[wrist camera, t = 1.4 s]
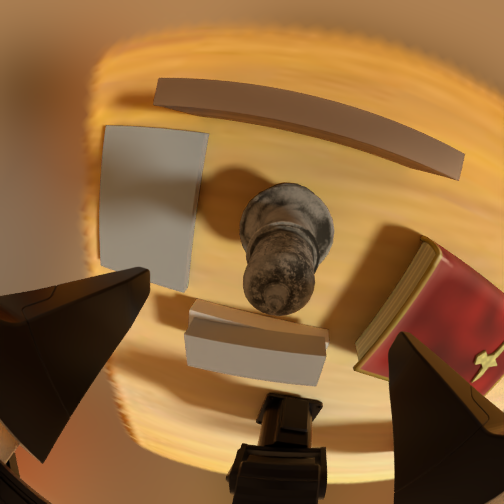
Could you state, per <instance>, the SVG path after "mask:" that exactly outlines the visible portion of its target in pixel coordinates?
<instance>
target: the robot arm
mask: <svg viewBox="0 0 504 504" xmlns="http://www.w3.org/2000/svg"><path fill="white" fill-rule="evenodd" d="M149 293H150V271H149V269H146V268H143V267H134V268H129V269H125V270H121V271H116V272H112V273H107V274H103V275H99V276H94V277H90V278H85V279H81V280H77V281H72V282H68V283H64V284H60V285H57V286H51V287H47V288H42V289H38V290H33V291H27V292H22V293H15V294H9V295H4V296H0V504H51V503H50V502H49V501H48V500H46V499H45V498H44V497H42V496H41V495H40V494H39V493H37V492H36V491H35V490H33V489H32V488H31V487H30V486H29V485H27V484H26V483H25V482H24V481H23V480H22V479H20V475H19V471H18V466H17V461H16V456H15V453H14V451H15V450H16V449H17V447H18V446H19V445H21V446H22V447H23V448H24V449H25V450H26V451H27V452H29V453H30V454H31V455H32V456H33V457H35V458H36V459H37V460H38V461H40V462H41V463H42V464H43V463H44V461H45V460H46V458H47V456H48V454H49V453H50V451H51V449H52V448H53V446H54V444H55V442H56V441H57V439H58V437H59V436H60V434H61V432H62V431H63V429H64V427H65V425H66V424H67V422H68V421H69V419H70V417H71V415H72V414H73V412H74V411H75V409H76V407H77V406H78V404H79V403H80V401H81V399H82V398H83V397H84V395H85V393H86V392H87V390H88V389H89V387H90V386H91V384H92V383H93V381H94V380H95V378H96V377H97V375H98V374H99V372H100V371H101V369H102V368H103V366H104V365H105V363H106V362H107V360H108V359H109V358H110V356H111V355H112V353H113V352H114V350H115V349H116V347H117V346H118V345H119V343H120V342H121V340H122V339H123V338H124V336H125V335H126V333H127V332H128V331H129V329H130V328H131V326H132V324H133V323H134V321H135V319H136V317H137V315H138V314H139V312H140V310H141V308H142V306H143V305H144V303H145V301H146V299H147V298H148V296H149ZM388 367H389V393H390V402H391V412H392V424H393V439H394V471H395V480H394V492H395V493H394V504H504V412H502V411H501V410H500V409H499V408H497V407H496V406H495V405H494V404H492V403H491V402H490V401H489V400H488V399H486V398H485V397H484V396H483V395H482V394H481V393H480V392H478V391H477V390H476V389H475V388H474V387H473V386H472V385H470V384H469V383H468V382H467V381H466V380H465V379H464V378H463V377H462V376H460V375H459V374H458V373H457V372H456V371H455V370H454V369H452V368H451V367H450V366H449V365H448V364H447V363H445V362H444V361H443V360H442V359H441V358H440V357H438V356H437V355H436V354H435V353H434V352H433V351H431V350H430V349H429V348H428V347H427V346H425V345H424V344H423V343H422V342H421V341H420V340H418V339H417V338H416V337H415V336H414V335H412V334H411V333H409V332H403V331H401V332H399V333H398V335H397V336H396V338H395V340H394V342H393V343H392V345H391V347H390V349H389V351H388ZM322 407H323V403H322V402H318V401H311V400H305V399H299V398H294V397H288V396H283V395H278V394H273V393H269V394H267V396H266V398H265V400H264V403H263V405H262V408H261V410H260V412H259V415H258V417H257V419H256V423H258V424H261V431H260V436H259V441H258V446H256V445H248V444H244V443H242V445H241V448H240V449H239V450H237V454H236V458H235V461H234V463H233V465H232V467H231V469H230V470H229V472H228V474H227V476H226V480H227V482H228V483H229V487H230V493H231V494H234V498H233V503H232V504H318V500H321V499H324V497H325V493H326V486H327V460H326V447H320V448H311V439H312V422H313V420H314V419H315V418H316V416H317V415H318V413H319V412H320V410H321V409H322Z"/></svg>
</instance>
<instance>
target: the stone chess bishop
mask: <svg viewBox="0 0 504 504" xmlns="http://www.w3.org/2000/svg"><path fill="white" fill-rule="evenodd" d="M240 238H241V242H242V246H243V248H244V250H245V252H246V260H247V264H248V265H247V267H246V270H245V273H244V276H243V289H244V293H245V296H246V298H247V299H248V301H249V303H250V304H251V305H252V306H253V307H254V308H256V309H257V310H259V311H261V312H263V313H266V314H269V315H275V316H283V315H289V314H292V313H295V312H297V311H298V310H300V309H301V308H303V307H304V306H305V305H306V304H307V302H308V301H309V299H310V297H311V295H312V293H313V291H314V285H315V277H314V274H315V272H316V270H317V268H318V266H319V264H320V263H321V262H322V261H323V260H324V259H325V257H326V256H327V255H328V253H329V251H330V248H331V246H332V244H333V238H334V226H333V219H332V217H331V215H330V212H329V210H328V208H327V207H326V205H325V204H324V203H323V202H322V200H321V199H320V198H319V197H317V196H316V195H315V194H314V193H313V192H312V191H310V190H309V189H307V188H306V187H304V186H301V185H298V184H294V183H283V184H278V185H275V186H273V187H271V188H269V189H266V190H264V191H262V192H260V193H259V194H258V195H257V196H255V197H254V198H253V199H252V200H251V201H250V202H249V204H248V205H247V207H246V208H245V210H244V211H243V215H242V218H241V221H240Z"/></svg>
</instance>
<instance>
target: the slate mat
mask: <svg viewBox="0 0 504 504" xmlns="http://www.w3.org/2000/svg"><path fill="white" fill-rule="evenodd" d="M208 137H209V134H207V133H199V132H191V131H183V130H173V129H163V128H150V127H135V126H110V125H106V129H105V136H104V145H103V154H102V166H101V180H100V205H99V236H100V261H101V266H103V267H106V268H109V269H112V270H115V271H121V270H125V269H129V268H134V267H143V268H146V269H149V271H150V282H151V283H154V284H157V285H160V286H163V287H167V288H170V289H173V290H176V291H180V292H183V293H184V292H185V290H186V289H187V288H188V281H189V271H190V261H191V252H192V243H193V235H194V227H195V219H196V212H197V205H198V198H199V191H200V184H201V178H202V171H203V165H204V159H205V154H206V148H207V142H208Z"/></svg>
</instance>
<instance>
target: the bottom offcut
mask: <svg viewBox="0 0 504 504" xmlns="http://www.w3.org/2000/svg"><path fill="white" fill-rule="evenodd" d="M194 318H199V319H205V320H210V321H215V322H221V323H227V324H233V325H239V326H245V327H251V328H258V329H265V330H272V331H279V332H287V333H295V334H303V335H312V336H322V337H325V344H326V349H327V347H328V345H329V333H328V329H323V328H318V327H313V326H308V325H303V324H299V323H294V322H289V321H285V320H280V319H276V318H272V317H267V316H263V315H259V314H255V313H251V312H246V311H242V310H238V309H235V308H231V307H227V306H223V305H219V304H215V303H212V302H208V301H204V300H201V299H196V300H195V302H194V303H193V305H192V306H191V308H190V310H189V325H190V324H191V322H192V320H193V319H194ZM189 325H188V327H189Z"/></svg>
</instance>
